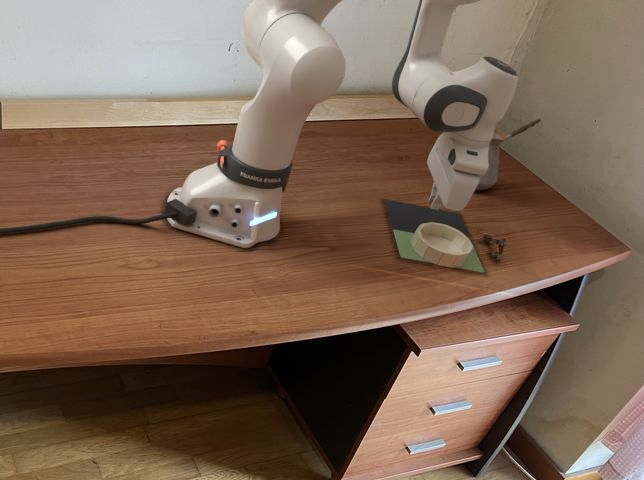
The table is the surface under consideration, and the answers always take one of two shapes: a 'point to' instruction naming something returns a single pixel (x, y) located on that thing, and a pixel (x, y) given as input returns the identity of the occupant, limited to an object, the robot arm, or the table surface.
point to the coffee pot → (493, 155)
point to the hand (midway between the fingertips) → (433, 206)
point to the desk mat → (412, 216)
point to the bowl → (441, 244)
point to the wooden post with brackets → (496, 241)
